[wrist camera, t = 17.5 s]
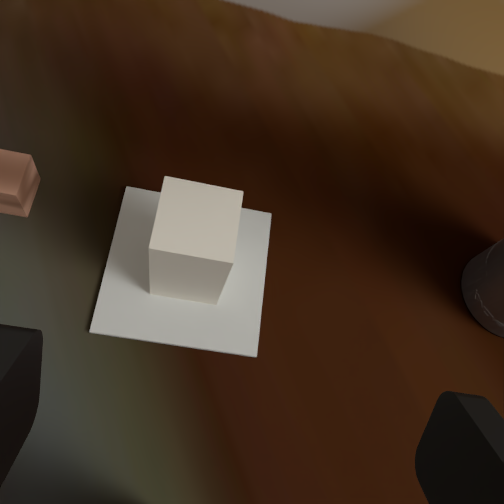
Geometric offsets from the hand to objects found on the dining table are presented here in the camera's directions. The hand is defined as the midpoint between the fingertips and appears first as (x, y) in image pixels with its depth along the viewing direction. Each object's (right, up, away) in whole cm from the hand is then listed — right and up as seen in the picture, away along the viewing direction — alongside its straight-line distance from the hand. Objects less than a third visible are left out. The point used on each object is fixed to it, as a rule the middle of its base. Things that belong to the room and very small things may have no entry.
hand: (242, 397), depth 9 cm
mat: (-6, +1, +33) cm, 34 cm away
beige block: (-5, +1, +33) cm, 33 cm away
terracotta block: (-21, +8, +33) cm, 40 cm away
